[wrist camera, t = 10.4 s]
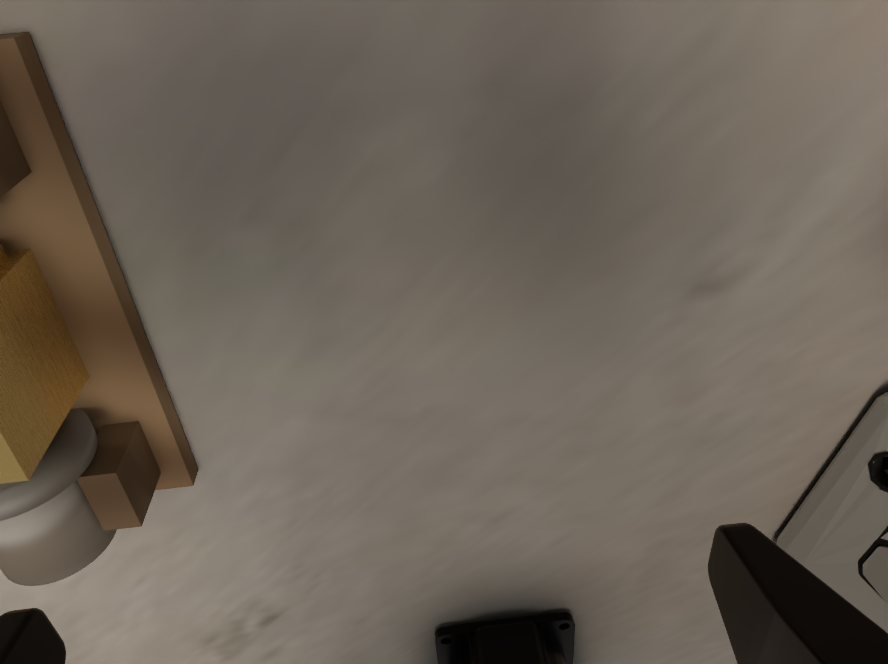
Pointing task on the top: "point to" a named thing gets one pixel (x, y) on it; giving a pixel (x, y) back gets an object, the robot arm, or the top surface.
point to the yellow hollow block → (32, 366)
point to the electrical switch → (849, 519)
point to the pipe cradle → (97, 340)
